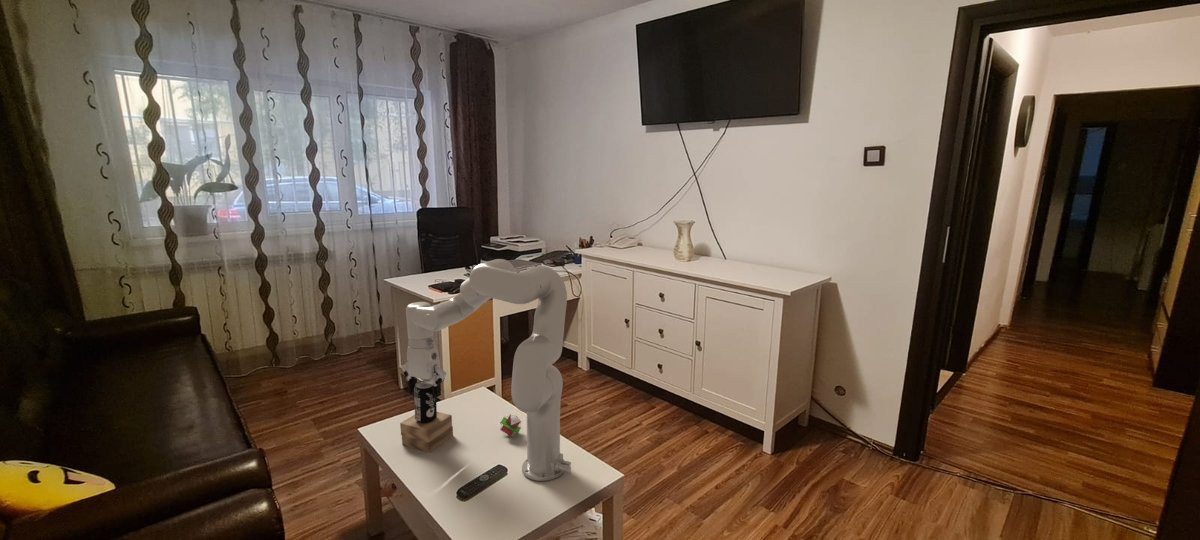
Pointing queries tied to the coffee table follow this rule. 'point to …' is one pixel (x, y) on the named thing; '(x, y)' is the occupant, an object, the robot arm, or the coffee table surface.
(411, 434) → the walnut block upper
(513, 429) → the geometric puzzle
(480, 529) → the coffee table surface
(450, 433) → the walnut block lower
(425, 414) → the beverage can
